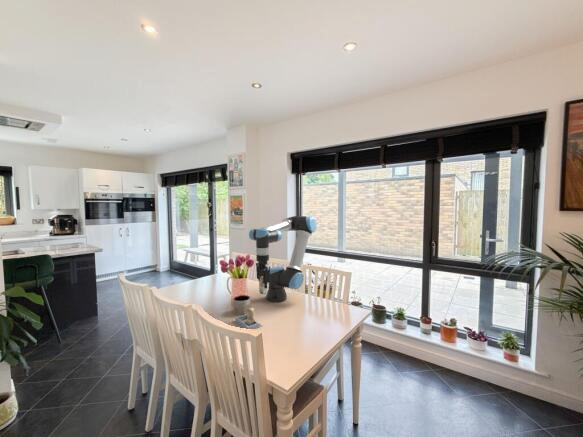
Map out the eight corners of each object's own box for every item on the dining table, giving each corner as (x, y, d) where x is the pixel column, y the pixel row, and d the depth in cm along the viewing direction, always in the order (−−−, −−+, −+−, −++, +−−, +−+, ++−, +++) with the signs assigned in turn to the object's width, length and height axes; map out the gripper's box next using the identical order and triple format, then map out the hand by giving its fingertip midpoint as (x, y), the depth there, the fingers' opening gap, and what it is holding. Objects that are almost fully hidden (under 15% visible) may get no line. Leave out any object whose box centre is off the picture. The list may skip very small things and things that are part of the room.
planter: (254, 311, 168) (253, 296, 167) (242, 317, 158) (242, 302, 158) (241, 307, 173) (241, 293, 173) (229, 313, 164) (229, 299, 163)
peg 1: (252, 324, 148) (251, 307, 148) (255, 326, 145) (255, 309, 144) (245, 326, 146) (245, 309, 145) (249, 329, 143) (248, 311, 142)
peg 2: (264, 291, 160) (264, 275, 159) (267, 293, 157) (267, 277, 156) (258, 292, 157) (258, 276, 157) (261, 294, 154) (261, 278, 154)
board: (250, 317, 159) (250, 312, 159) (263, 327, 146) (263, 322, 146) (232, 322, 152) (231, 318, 151) (244, 333, 139) (244, 328, 139)
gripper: (250, 252, 160) (251, 289, 162) (264, 257, 146) (265, 297, 148) (261, 251, 165) (261, 287, 166) (275, 255, 151) (276, 294, 152)
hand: (263, 292), depth 157 cm, fingers closed on peg 2, 4 cm apart
